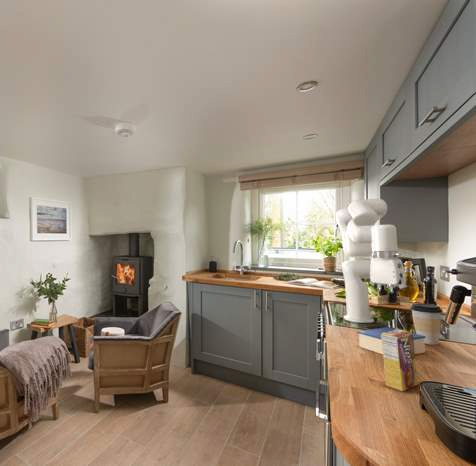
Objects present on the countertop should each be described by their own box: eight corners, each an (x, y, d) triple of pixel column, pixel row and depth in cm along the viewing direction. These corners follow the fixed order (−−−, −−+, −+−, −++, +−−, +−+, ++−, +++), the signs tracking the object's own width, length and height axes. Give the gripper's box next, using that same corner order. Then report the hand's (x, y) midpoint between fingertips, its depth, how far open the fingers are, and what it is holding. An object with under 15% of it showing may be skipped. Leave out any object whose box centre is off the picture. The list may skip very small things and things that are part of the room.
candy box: (400, 378, 89) (396, 328, 89) (418, 384, 85) (414, 332, 85) (383, 385, 85) (380, 332, 86) (402, 391, 81) (398, 336, 82)
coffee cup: (412, 342, 119) (409, 305, 119) (412, 337, 125) (409, 302, 126) (446, 348, 112) (443, 308, 113) (444, 341, 119) (441, 304, 119)
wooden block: (396, 300, 119) (396, 293, 119) (409, 302, 114) (409, 295, 115) (369, 302, 115) (368, 295, 115) (381, 305, 111) (380, 297, 111)
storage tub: (388, 341, 120) (387, 327, 121) (426, 352, 108) (425, 336, 108) (358, 346, 116) (357, 331, 116) (393, 358, 104) (392, 341, 104)
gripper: (416, 255, 109) (420, 305, 108) (370, 254, 124) (373, 298, 123) (401, 256, 107) (405, 306, 106) (357, 255, 122) (360, 299, 122)
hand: (388, 301), depth 115 cm, fingers closed on wooden block, 2 cm apart
